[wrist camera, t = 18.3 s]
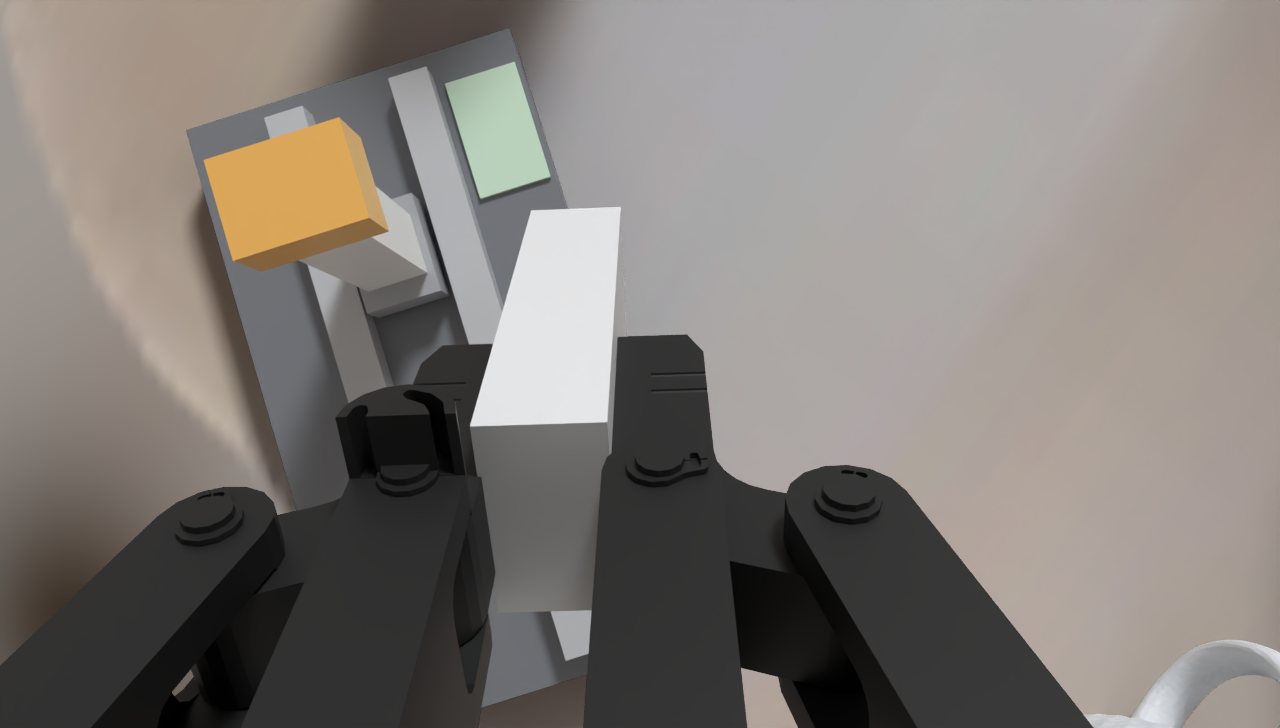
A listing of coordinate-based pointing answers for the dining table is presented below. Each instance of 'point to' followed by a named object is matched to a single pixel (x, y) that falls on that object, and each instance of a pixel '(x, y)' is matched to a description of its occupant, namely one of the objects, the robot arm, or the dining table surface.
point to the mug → (1194, 683)
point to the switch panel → (398, 343)
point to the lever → (326, 216)
